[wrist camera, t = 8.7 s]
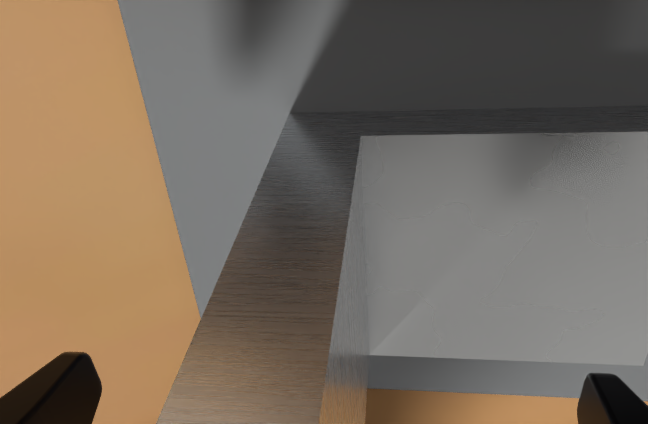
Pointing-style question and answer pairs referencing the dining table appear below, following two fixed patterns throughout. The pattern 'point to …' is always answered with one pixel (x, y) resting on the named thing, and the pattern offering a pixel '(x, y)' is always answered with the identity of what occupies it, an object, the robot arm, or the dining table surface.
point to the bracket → (423, 256)
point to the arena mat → (366, 95)
